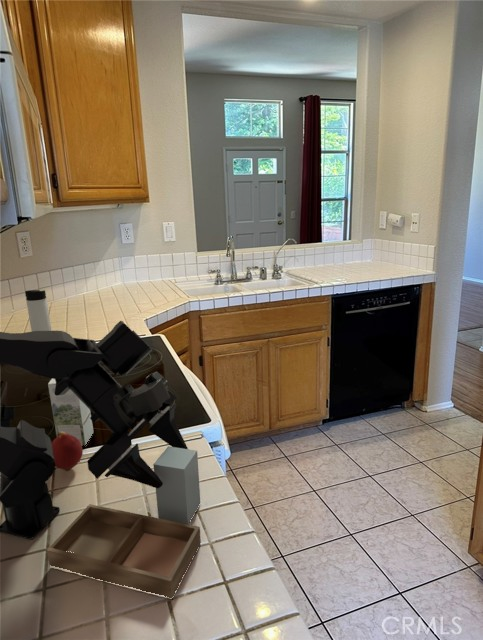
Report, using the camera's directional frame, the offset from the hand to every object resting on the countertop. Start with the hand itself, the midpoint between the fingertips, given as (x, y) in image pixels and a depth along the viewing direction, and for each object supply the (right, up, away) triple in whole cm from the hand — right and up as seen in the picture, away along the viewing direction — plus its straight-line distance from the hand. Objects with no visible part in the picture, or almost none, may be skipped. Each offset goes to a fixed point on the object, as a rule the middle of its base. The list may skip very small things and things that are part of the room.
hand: (174, 467), depth 67 cm
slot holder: (-6, -10, -6) cm, 13 cm away
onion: (-22, -5, +14) cm, 26 cm away
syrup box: (-24, -2, +23) cm, 34 cm away
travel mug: (-59, +14, +84) cm, 104 cm away
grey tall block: (+1, -8, +2) cm, 8 cm away
